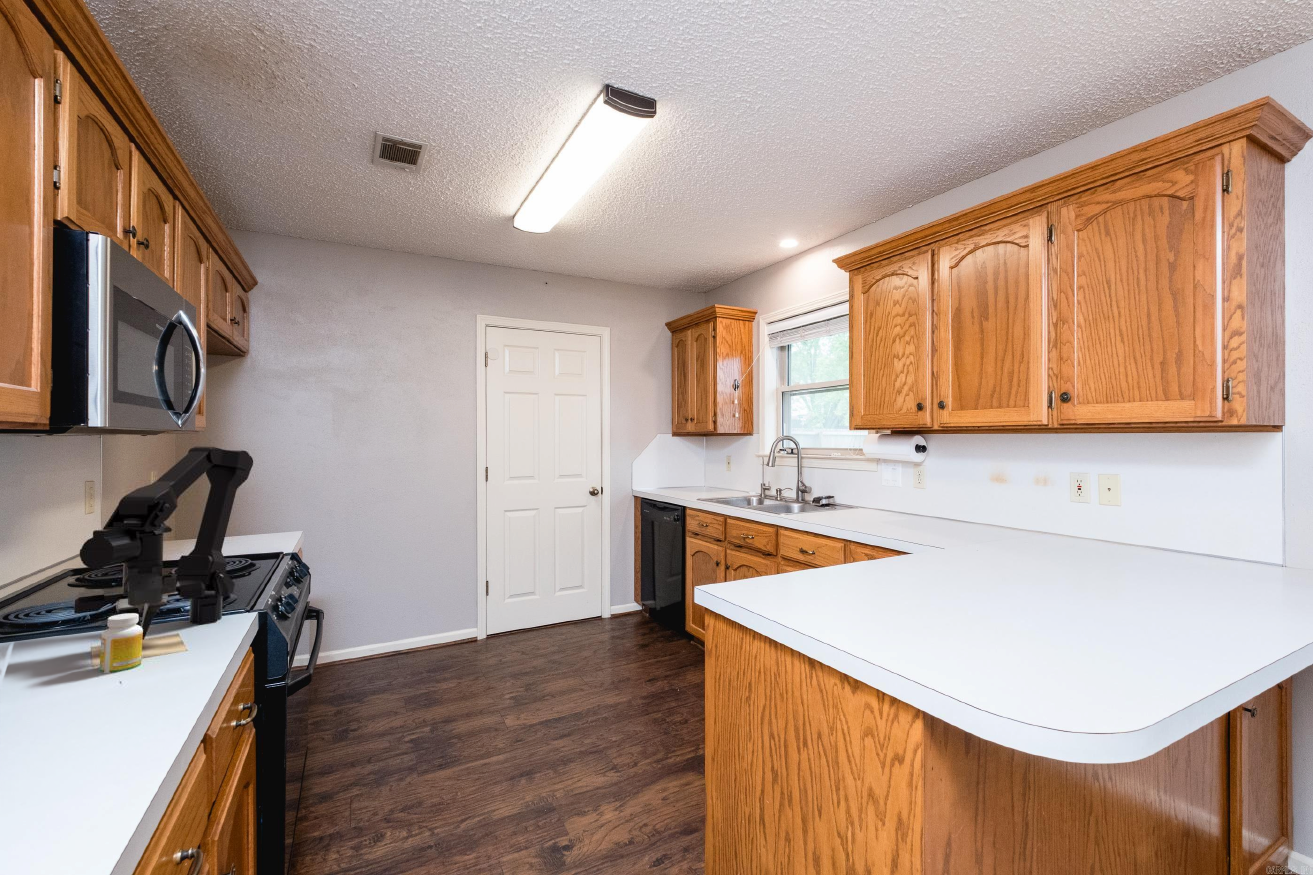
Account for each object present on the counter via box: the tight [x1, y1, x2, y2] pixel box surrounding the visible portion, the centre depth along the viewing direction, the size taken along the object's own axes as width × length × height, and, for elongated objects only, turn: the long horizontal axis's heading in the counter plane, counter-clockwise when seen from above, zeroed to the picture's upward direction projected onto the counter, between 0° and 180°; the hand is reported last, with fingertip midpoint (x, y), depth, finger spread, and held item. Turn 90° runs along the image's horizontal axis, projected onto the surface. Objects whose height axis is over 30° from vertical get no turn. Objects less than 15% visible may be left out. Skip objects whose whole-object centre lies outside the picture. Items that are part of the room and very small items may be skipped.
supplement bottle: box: [99, 613, 143, 674], centre depth 103 cm, size 5×5×10 cm
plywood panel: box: [90, 633, 188, 668], centre depth 112 cm, size 14×13×1 cm
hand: (140, 640), depth 113 cm, fingers closed
